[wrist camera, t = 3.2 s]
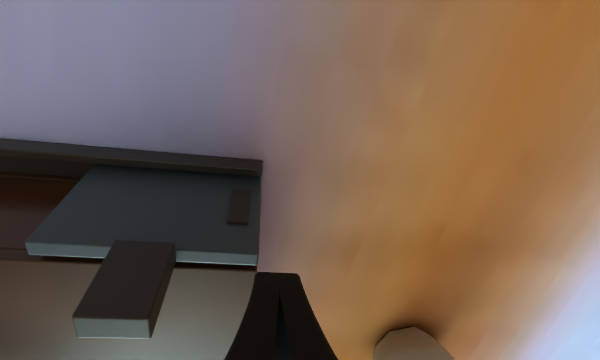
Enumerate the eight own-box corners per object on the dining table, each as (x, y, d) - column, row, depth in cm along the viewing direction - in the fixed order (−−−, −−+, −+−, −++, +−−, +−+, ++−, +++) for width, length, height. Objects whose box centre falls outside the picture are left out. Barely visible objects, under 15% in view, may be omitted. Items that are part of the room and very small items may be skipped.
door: (93, 157, 17) (-53, 313, 9) (262, 170, 18) (256, 321, 10) (96, 174, 17) (-41, 336, 10) (260, 186, 18) (254, 342, 11)
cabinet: (-78, 131, 16) (-244, 209, 11) (263, 160, 18) (260, 237, 13) (-4, 311, 22) (-90, 419, 16) (248, 318, 24) (242, 416, 18)
